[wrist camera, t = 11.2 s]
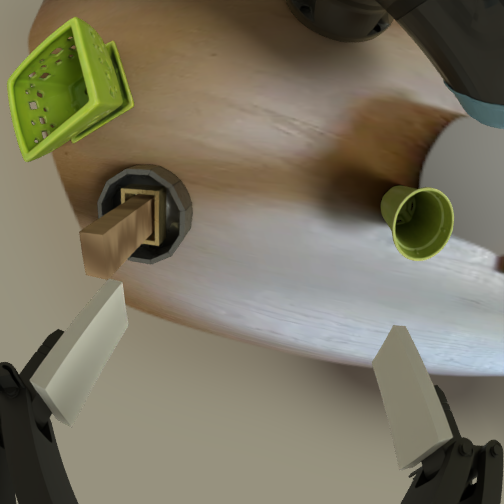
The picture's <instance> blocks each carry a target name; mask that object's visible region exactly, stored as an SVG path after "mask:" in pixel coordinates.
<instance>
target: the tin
mask: <svg viewBox="0 0 504 504" xmlns="http://www.w3.org/2000/svg"><path fill="white" fill-rule="evenodd" d="M137 194H145V195H155V231H154V232H153V233H152V234H151V235H150V236H149V237H148V238H147V239H146V240H145V241H144V242H143V243H142V244H141V245H140V246H139V247H138V248H137V249H136V250H135V251H134V252H133V253H132V254H131V256H130V257H129V258H128V260H130V261H134V262H140V263H146V264H154V263H156V262H159V261H161V260H163V259H166V258H168V257H171V256H172V255H173V253H174V252H175V251H176V249H177V248H178V246H179V245H180V243H181V242H182V240H183V239H184V237H185V236H186V234H187V233H188V231H189V230H190V228H191V222H192V215H193V210H192V202H191V199H190V195H189V193H188V191H187V189H186V187H185V185H184V184H183V183H182V181H181V180H180V179H179V178H178V177H177V176H176V175H175V174H173V173H172V172H170V171H169V170H167V169H165V168H163V167H161V166H156V165H135V166H133V167H130V168H127V169H125V170H123V171H122V172H120V173H119V174H117V175H116V176H114V177H112V178H111V179H109V180H108V181H107V182H106V184H105V186H104V188H103V191H102V193H101V195H100V197H99V200H98V203H97V204H98V219H99V218H101V217H102V216H104V215H105V214H107V213H108V212H110V211H111V210H113V209H115V208H116V207H118V206H119V205H121V204H123V203H124V202H126V201H127V200H129V199H131V198H132V197H134V196H136V195H137Z"/></svg>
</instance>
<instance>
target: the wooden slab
mask: <svg viewBox="0 0 504 504" xmlns="http://www.w3.org/2000/svg"><path fill="white" fill-rule="evenodd" d="M154 231H155V195H145V194H137V195H136V196H134V197H132V198H131V199H129V200H127V201H126V202H124V203H123V204H121V205H119V206H118V207H116V208H115V209H113V210H111V211H110V212H108V213H107V214H105V215H104V216H102V217H101V218H99V219H97V220H96V221H94V222H93V223H92V224H90V225H89V226H87V227H86V228H84V229H83V230H81V231H80V232H79V233H80V241H81V248H82V255H83V261H84V266H85V272H86V275H88V276H93V277H97V278H102V279H107V280H108V279H109V278H110V277H111V276H112V275H113V274H114V273H115V272H116V271H117V270H118V268H119V267H120V266H121V265H122V264H123V263H124V262H125V261H126V260H127V259H128V258H129V257H130V256H131V254H132V253H133V252H134V251H135V250H136V249H137V248H138V247H139V246H140V245H141V244H142V243H143V242H144V241H145V240H146V239H147V238H148V237H149V236H150V235H151V234H152V233H153V232H154Z"/></svg>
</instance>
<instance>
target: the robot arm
mask: <svg viewBox="0 0 504 504" xmlns="http://www.w3.org/2000/svg"><path fill="white" fill-rule="evenodd" d="M286 2H287V5H288V7H289V9H290V10H291V12H292V13H293V14H294V16H295V17H296V18H297V19H298V20H299V21H300V22H301V23H303V24H304V25H305V26H307V27H308V28H309V29H311V30H313V31H314V32H316V33H318V34H320V35H322V36H325V37H328V38H331V39H334V40H338V41H343V42H363V41H368V40H371V39H373V38H375V37H377V36H379V35H380V34H381V33H383V32H384V31H385V30H386V29H387V28H388V27H389V26H390V25H391V23H392V21H393V19H395V20H396V21H397V22H398V23H399V25H400V26H401V27H402V28H403V29H404V30H405V31H406V32H407V33H408V34H409V36H410V37H411V38H412V39H413V40H414V41H415V43H416V44H417V45H418V46H419V47H420V49H421V50H422V51H423V52H424V54H425V55H426V56H427V58H428V59H429V60H430V62H431V63H432V64H433V66H434V67H435V68H436V70H437V71H438V72H439V74H440V75H441V77H442V78H443V80H444V83H445V85H446V86H447V88H448V89H449V90H450V91H451V92H453V93H454V95H455V96H456V98H457V99H458V101H459V102H460V104H461V105H462V107H463V108H464V110H465V111H466V112H467V113H468V114H469V115H470V116H471V117H472V118H474V119H476V120H477V121H479V122H480V123H482V124H485V125H487V126H490V127H494V128H500V129H504V0H286ZM127 327H128V320H127V313H126V306H125V299H124V291H123V283H122V282H121V281H116V280H112V279H108V280H107V281H106V283H105V284H104V285H103V286H102V287H101V288H100V290H99V291H98V292H97V293H96V294H95V295H94V296H93V298H92V299H91V300H90V301H89V302H88V304H87V305H86V306H85V307H84V308H83V310H82V311H81V312H80V313H79V314H78V316H77V317H76V318H75V320H74V321H73V322H72V323H71V325H70V326H69V327H68V328H67V330H66V331H65V332H64V331H62V330H59V329H58V330H56V331H55V332H53V333H52V334H50V335H49V336H48V337H47V338H46V340H45V341H44V342H43V345H41V346H40V348H39V349H38V351H37V352H35V354H34V355H33V357H32V358H31V359H30V361H29V362H28V363H27V365H26V366H25V368H24V369H23V370H22V372H21V373H20V374H18V372H17V371H16V369H15V368H14V366H12V364H10V363H8V362H1V363H0V504H16V498H15V494H16V497H17V500H18V503H19V504H78V502H77V499H76V498H75V495H74V492H73V490H72V487H71V485H70V482H69V480H68V477H67V474H66V471H65V469H64V466H63V462H62V459H61V457H60V453H59V450H58V446H57V443H56V439H55V435H54V431H53V427H52V423H51V420H50V416H51V414H53V415H54V416H55V418H56V419H57V420H58V421H61V422H62V423H64V424H66V425H68V426H70V427H73V425H74V423H75V420H76V419H77V417H78V415H79V413H80V410H81V409H82V407H83V405H84V403H85V401H86V399H87V397H88V395H89V393H90V392H91V390H92V388H93V386H94V384H95V382H96V380H97V379H98V377H99V375H100V373H101V371H102V370H103V368H104V366H105V364H106V363H107V361H108V359H109V357H110V356H111V354H112V352H113V350H114V348H115V347H116V345H117V344H118V342H119V340H120V339H121V337H122V335H123V334H124V332H125V330H126V329H127ZM372 365H373V369H374V372H375V375H376V379H377V382H378V385H379V389H380V392H381V396H382V399H383V403H384V407H385V411H386V414H387V418H388V422H389V426H390V430H391V434H392V439H393V443H394V448H395V452H396V457H397V461H398V465H399V470H403V469H407V468H412V467H414V466H416V465H417V464H418V463H420V462H422V467H420V468H419V469H417V470H416V471H414V472H412V473H411V474H410V475H409V478H410V477H412V476H414V475H415V474H416V476H415V477H414V478H413V482H412V484H411V486H410V488H409V489H408V491H407V493H406V495H405V497H404V498H403V500H402V502H401V504H500V502H501V492H502V480H503V449H502V446H501V444H500V443H499V442H498V441H496V440H491V441H489V442H488V443H487V444H486V445H484V446H475V445H473V444H472V442H471V441H470V440H469V439H467V438H464V437H463V438H462V437H461V435H460V433H459V430H458V427H457V425H456V422H455V419H454V417H453V414H452V412H451V411H450V407H449V404H447V399H446V397H445V395H444V393H443V391H442V390H441V389H440V388H439V387H438V385H433V384H432V381H431V379H430V377H429V374H428V372H427V370H426V368H425V365H424V363H423V361H422V359H421V357H420V355H419V352H418V350H417V348H416V346H415V344H414V342H413V340H412V338H411V336H410V334H409V332H408V330H407V328H406V326H396V325H393V327H392V329H391V331H390V333H389V334H388V336H387V338H386V340H385V341H384V343H383V345H382V347H381V348H380V350H379V352H378V353H377V355H376V357H375V358H374V360H373V362H372ZM476 477H477V482H476V483H475V484H472V480H473V479H474V478H476Z"/></svg>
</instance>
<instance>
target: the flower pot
mask: <svg viewBox="0 0 504 504" xmlns="http://www.w3.org/2000/svg"><path fill="white" fill-rule="evenodd" d="M69 37H73V38H71V39H67V38H69ZM73 45H74V46H76V49H72V48H70V47H72V46H73ZM56 48H62V50H61V51H60V52H59V53H58V54H51V53H52V52H53V51H54V50H55V49H56ZM69 55H73V56H72V57H69ZM42 59H43V61H40V60H42ZM59 59H60V60H61V61H59V62H58V63H56V61H57V60H59ZM43 65H46V67H41V66H43ZM33 72H35V73H36V74H35V75H34V76H33V77H31V78H30V77H29V75H30V74H31V73H33ZM44 73H49V75H48V76H47V77H46V78H41V77H40V76H41V75H42V74H44ZM31 86H33V87H31ZM7 90H8V99H9V106H10V112H11V117H12V122H13V127H14V130H15V134H16V138H17V142H18V145H19V148H20V151H21V153H22V156H23V159H24V161H26V162H29V161H32V160H35V159H37V158H40V157H42V156H44V155H46V154H48V153H50V152H52V151H53V150H55V149H57V148H58V147H60V146H62V145H63V144H65V143H66V142H67V141H69V140H70V139H71V141H72V143H76V142H77V141H79V140H81V139H82V138H84V137H85V136H87V135H88V134H90V133H92V132H93V131H95V130H97V129H98V128H100V127H101V126H103V125H104V124H106V123H108V122H109V121H111V120H113V119H114V118H116V117H118V116H120V115H121V114H123V113H125V112H126V111H128V110H130V109H131V108H132V107H134V101H133V98H132V94H131V91H130V88H129V85H128V82H127V79H126V75H125V72H124V69H123V66H122V63H121V59H120V56H119V53H118V49H117V46H116V44H115V42H114V41H111V42H109V43H107V44H104V42H103V40H102V39H101V37H100V36H99V34H98V33H97V32H96V31H95V30H94V29H93V28H92V27H91V26H90V25H89V24H87V23H86V22H84V21H83V20H81V19H79V18H77V17H74V18H72V19H70V20H69V21H68V22H66V23H65V24H64V25H62V26H61V27H60V28H58V29H57V30H56V31H55V32H54V33H52V34H51V35H50V36H49V37H48V38H47V39H45V40H44V41H43V42H42V43H41V44H40V45H39V46H38V47H37V48H36V49H35V50H34V51H33V52H32V53H31V54H30V55H29V56H28V57H27V58H26V59H25V60H24V61H23V62H22V63H21V64H20V65H19V67H18V68H17V69H16V70H15V71H14V73H13V74H12V75H11V76H10V78H9V79H8V81H7ZM26 92H28V94H26ZM37 92H39V93H41V94H42V98H41V97H38V96H37ZM31 102H36V105H37V108H38V109H33V110H32V109H31V107H30V104H29V103H31ZM44 108H45V109H46V111H47V112H46V111H44ZM39 118H44V119H45V124H41V123H40V119H39ZM31 122H34V124H35V125H33V124H32V123H31ZM50 125H53V126H54V127H51V126H50ZM44 131H46V132H47V133H48V136H47V137H46V138H45V139H43V136H42V132H44ZM35 140H38V143H35V142H34V141H35Z"/></svg>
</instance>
